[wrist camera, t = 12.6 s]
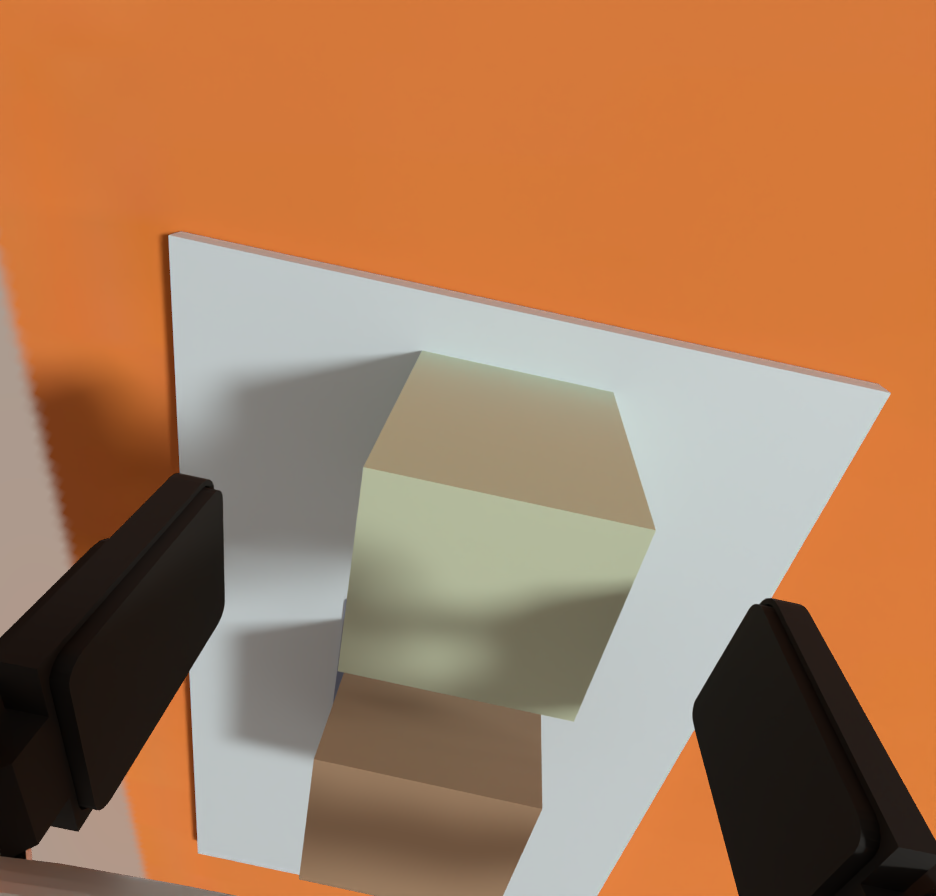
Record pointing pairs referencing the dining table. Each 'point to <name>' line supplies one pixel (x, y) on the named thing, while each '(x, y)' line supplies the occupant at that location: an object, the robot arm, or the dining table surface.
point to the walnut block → (420, 792)
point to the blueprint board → (336, 506)
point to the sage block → (494, 538)
